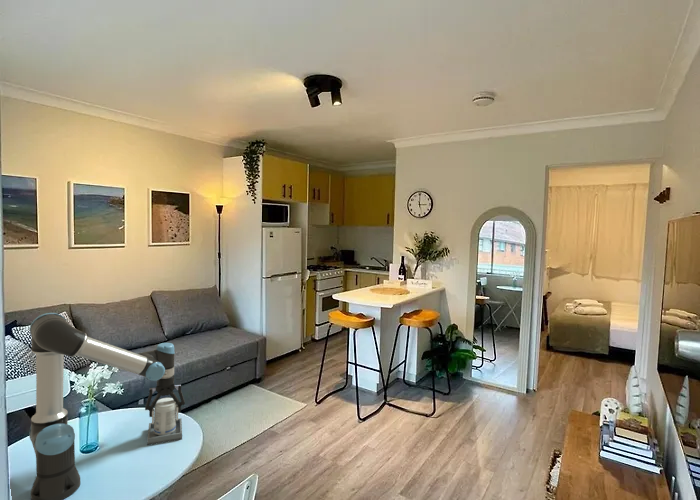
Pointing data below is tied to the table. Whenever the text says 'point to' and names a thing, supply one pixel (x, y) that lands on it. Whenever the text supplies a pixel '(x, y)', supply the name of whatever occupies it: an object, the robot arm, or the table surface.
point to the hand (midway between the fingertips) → (165, 420)
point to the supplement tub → (165, 416)
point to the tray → (165, 438)
